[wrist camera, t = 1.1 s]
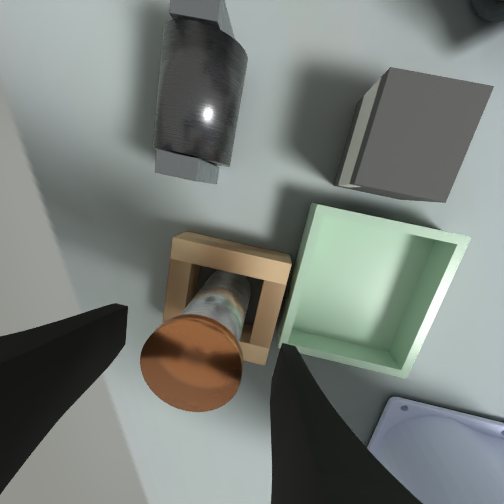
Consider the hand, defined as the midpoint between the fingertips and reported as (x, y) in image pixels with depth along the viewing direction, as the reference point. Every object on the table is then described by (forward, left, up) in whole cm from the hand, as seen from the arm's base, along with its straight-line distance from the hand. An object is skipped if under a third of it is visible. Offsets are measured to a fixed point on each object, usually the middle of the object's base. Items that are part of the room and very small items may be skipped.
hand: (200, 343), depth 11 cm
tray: (-8, -2, -6) cm, 10 cm away
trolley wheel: (+3, -10, -6) cm, 12 cm away
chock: (-7, -10, -6) cm, 14 cm away
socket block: (0, 0, -6) cm, 6 cm away
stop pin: (0, 0, -6) cm, 6 cm away
